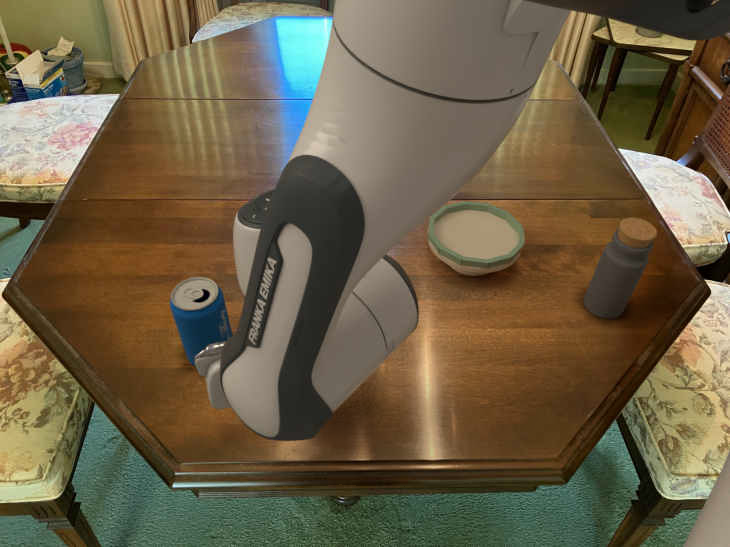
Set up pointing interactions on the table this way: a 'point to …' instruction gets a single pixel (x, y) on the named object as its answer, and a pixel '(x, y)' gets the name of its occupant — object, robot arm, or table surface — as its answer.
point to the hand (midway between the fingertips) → (299, 398)
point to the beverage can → (199, 315)
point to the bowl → (475, 237)
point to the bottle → (620, 268)
